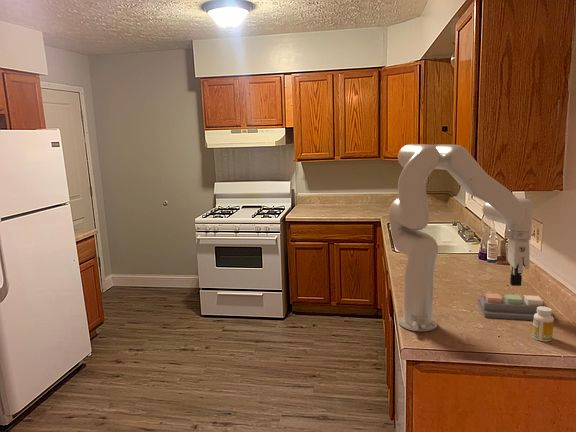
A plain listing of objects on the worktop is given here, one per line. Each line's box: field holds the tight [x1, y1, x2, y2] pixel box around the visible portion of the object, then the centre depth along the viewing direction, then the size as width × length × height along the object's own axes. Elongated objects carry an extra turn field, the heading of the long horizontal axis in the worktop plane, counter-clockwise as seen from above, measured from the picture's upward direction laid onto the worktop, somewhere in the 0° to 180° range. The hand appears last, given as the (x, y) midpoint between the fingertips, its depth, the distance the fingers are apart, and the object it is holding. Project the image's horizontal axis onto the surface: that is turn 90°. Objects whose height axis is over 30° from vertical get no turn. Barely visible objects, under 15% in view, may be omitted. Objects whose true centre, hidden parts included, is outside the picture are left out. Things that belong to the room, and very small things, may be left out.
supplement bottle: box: [531, 306, 555, 343], centre depth 136 cm, size 5×5×10 cm
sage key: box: [504, 293, 522, 304], centre depth 156 cm, size 5×5×3 cm
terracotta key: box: [484, 292, 502, 303], centre depth 157 cm, size 5×5×3 cm
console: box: [476, 295, 549, 321], centre depth 156 cm, size 13×21×4 cm, turn 77°
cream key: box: [523, 294, 544, 306], centre depth 154 cm, size 5×5×3 cm
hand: (515, 284), depth 155 cm, fingers closed
